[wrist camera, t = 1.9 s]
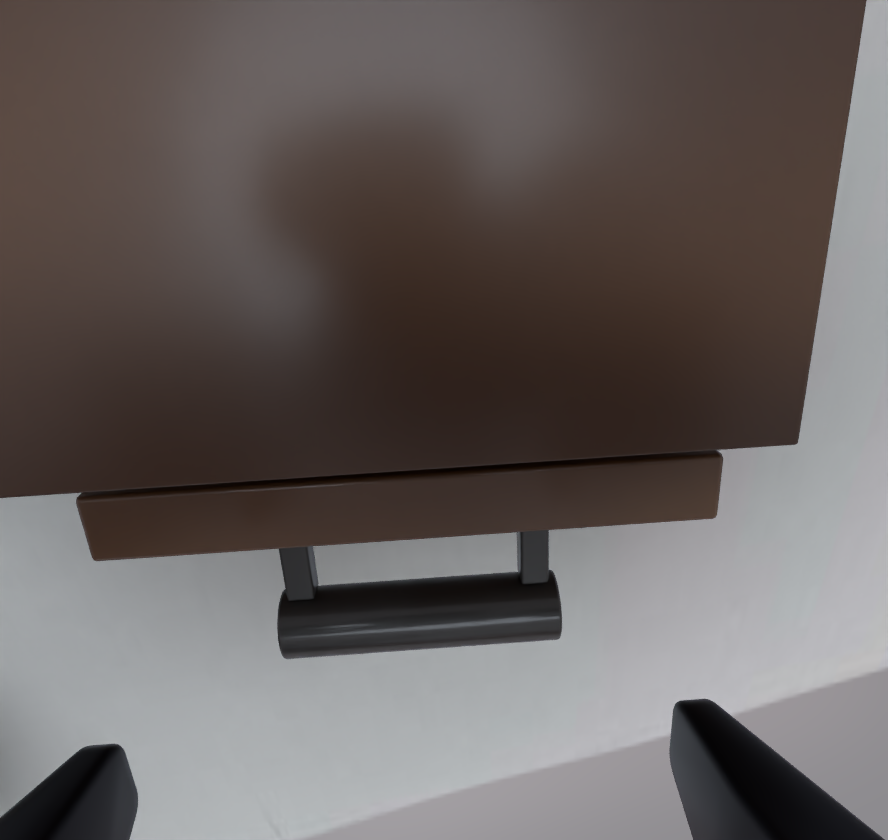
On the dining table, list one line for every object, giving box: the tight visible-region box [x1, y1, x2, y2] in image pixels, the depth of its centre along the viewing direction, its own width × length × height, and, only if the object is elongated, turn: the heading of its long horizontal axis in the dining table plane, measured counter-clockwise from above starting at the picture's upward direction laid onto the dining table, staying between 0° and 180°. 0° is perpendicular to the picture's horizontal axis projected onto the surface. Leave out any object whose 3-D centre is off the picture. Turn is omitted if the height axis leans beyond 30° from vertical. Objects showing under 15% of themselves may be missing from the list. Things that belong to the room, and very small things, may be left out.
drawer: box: [76, 450, 723, 659], centre depth 12 cm, size 17×10×7 cm, turn 3°
